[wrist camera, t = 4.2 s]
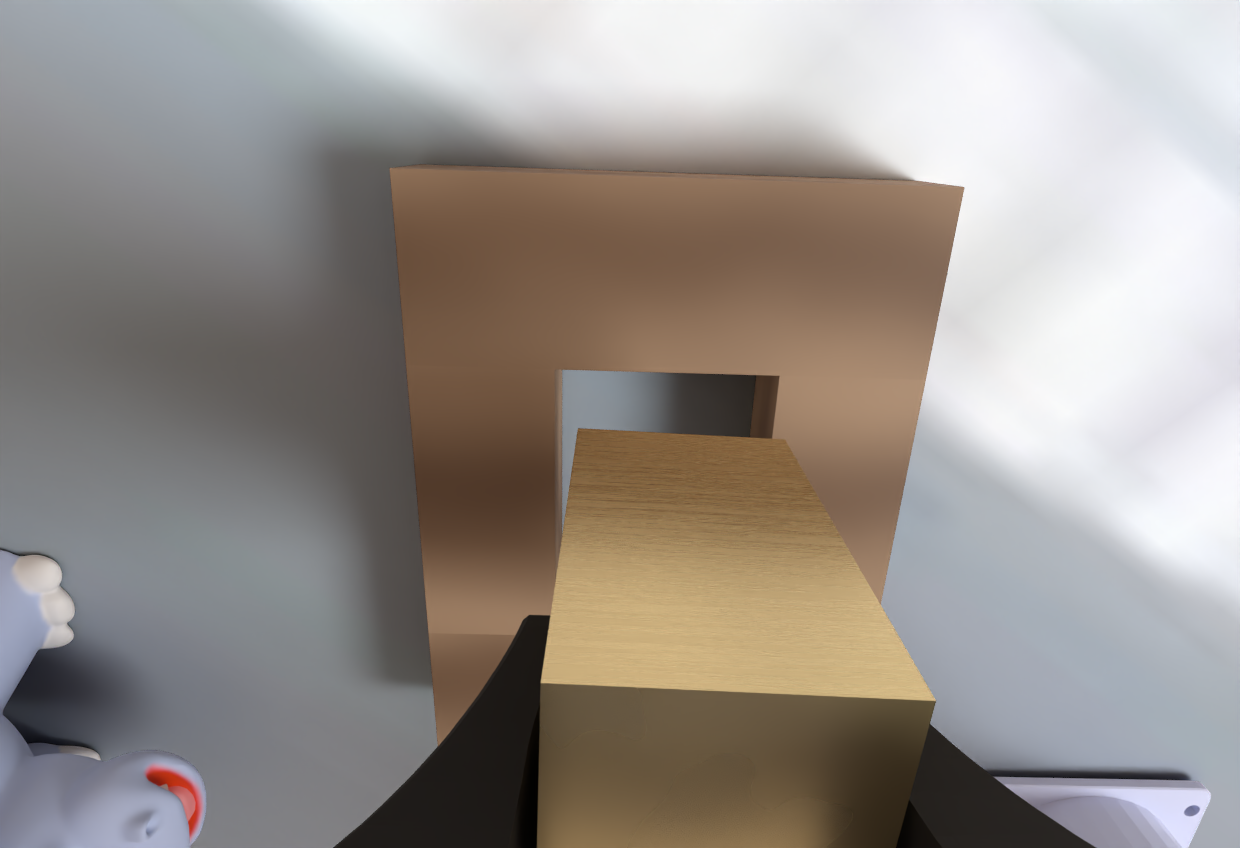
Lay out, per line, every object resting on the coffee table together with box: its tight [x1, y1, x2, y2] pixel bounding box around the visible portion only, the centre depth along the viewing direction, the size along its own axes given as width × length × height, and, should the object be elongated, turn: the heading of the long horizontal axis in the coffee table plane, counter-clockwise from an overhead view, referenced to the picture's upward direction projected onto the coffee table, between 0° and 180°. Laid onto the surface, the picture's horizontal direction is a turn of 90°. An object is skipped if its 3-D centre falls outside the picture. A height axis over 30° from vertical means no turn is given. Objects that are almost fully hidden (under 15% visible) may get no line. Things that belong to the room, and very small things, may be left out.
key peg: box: [537, 428, 936, 848], centre depth 12 cm, size 4×6×7 cm, turn 177°
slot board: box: [390, 164, 964, 746], centre depth 19 cm, size 16×12×2 cm
